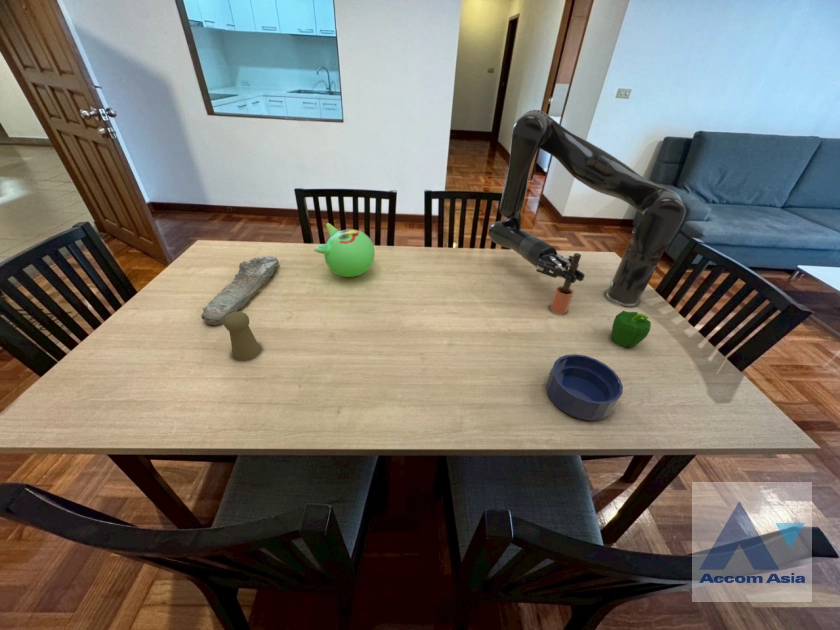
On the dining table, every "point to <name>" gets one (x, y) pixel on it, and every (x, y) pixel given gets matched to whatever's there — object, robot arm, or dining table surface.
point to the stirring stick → (572, 270)
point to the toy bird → (347, 251)
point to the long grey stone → (240, 289)
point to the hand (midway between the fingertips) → (578, 279)
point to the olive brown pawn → (241, 336)
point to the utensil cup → (561, 300)
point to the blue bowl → (584, 387)
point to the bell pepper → (630, 328)
